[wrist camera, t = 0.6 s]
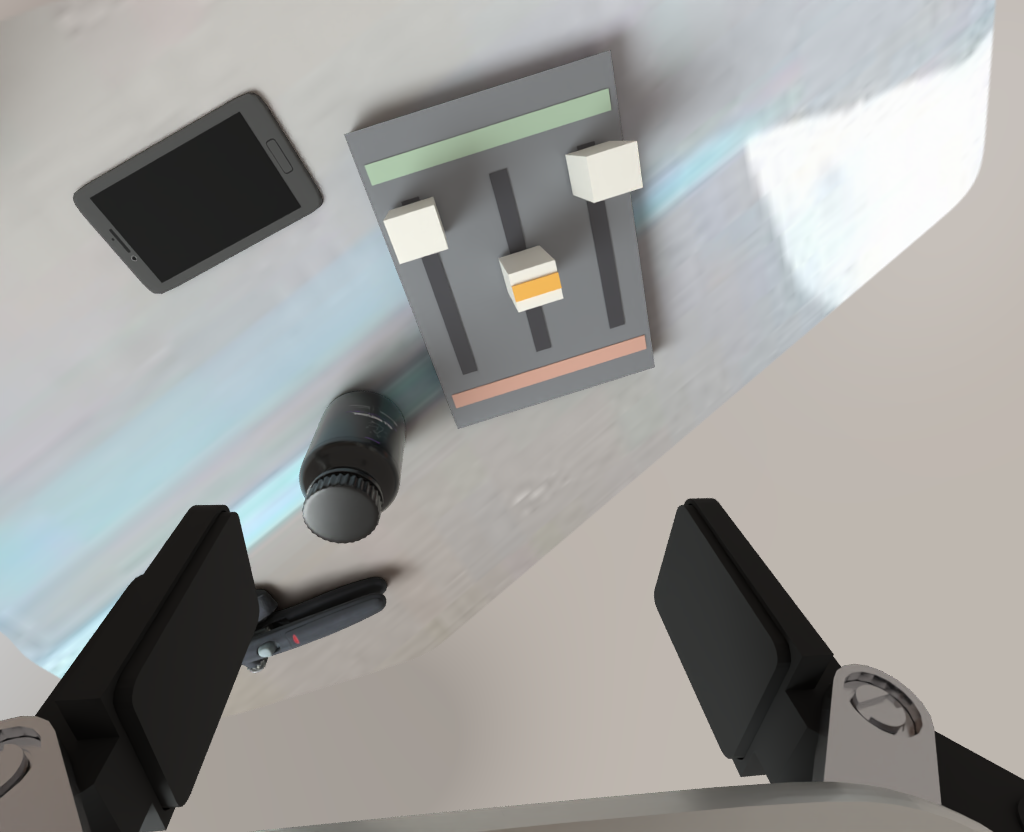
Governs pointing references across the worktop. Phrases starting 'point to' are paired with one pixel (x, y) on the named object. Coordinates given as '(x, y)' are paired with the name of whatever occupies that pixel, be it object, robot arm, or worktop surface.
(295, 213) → the cell phone
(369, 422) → the supplement bottle
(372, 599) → the can opener
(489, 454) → the worktop surface
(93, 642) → the robot arm
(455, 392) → the breaker board
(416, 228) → the block
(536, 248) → the handle
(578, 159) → the block
